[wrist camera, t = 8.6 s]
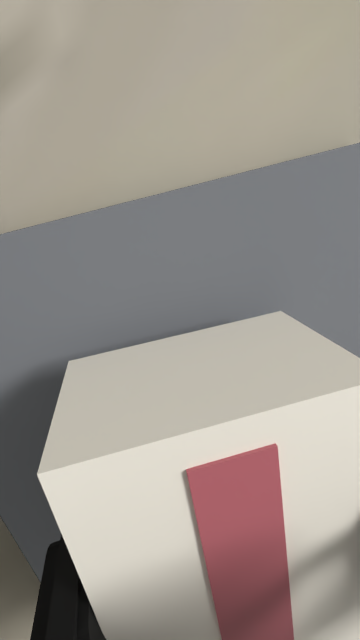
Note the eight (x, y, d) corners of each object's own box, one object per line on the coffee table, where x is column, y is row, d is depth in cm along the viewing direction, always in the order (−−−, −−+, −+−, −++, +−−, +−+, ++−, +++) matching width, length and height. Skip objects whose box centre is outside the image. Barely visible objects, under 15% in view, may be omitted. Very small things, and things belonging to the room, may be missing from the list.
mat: (366, 512, 16) (374, 522, 15) (76, 625, 14) (75, 639, 14) (348, 145, 10) (360, 142, 10) (-134, 268, 9) (-148, 272, 8)
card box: (280, 310, 9) (394, 379, 6) (295, 532, 13) (376, 673, 9) (68, 361, 9) (35, 478, 5) (140, 584, 12) (154, 762, 8)
